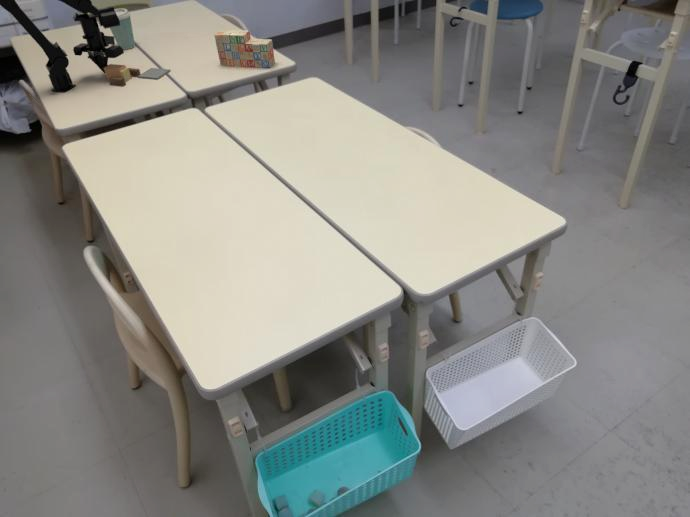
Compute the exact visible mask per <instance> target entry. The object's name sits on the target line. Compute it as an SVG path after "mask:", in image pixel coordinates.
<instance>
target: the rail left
mask: <svg viewBox="0 0 690 517" xmlns="http://www.w3.org/2000/svg"><path fill="white" fill-rule="evenodd" d="M108 79H109V84H110V86H119V87H125V86H126V85H127V83H126V82H127V81H126V82H125V79H124V78H117V77H110V78H108ZM108 79H107V80H108Z"/></svg>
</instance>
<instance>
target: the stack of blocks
mask: <svg viewBox="0 0 690 517" xmlns="http://www.w3.org/2000/svg"><path fill="white" fill-rule="evenodd" d="M214 39H215V45H216V50H217V54H218V58H219V64H220V66H221V67H233V68H235V67H238V68H255V69H256V68H257V69H271V67H272V66H274V64H275V63H276V62H275V59H276V58H275V54H274V44H273V39H269V38H251V34H250V31H249V30H239V29H238V30H237V29H236V30H233V29H231V30H230V29H229V30H227V29H220V30H219V31H217V32H216V33H215V34H214Z"/></svg>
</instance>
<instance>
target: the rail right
mask: <svg viewBox="0 0 690 517" xmlns="http://www.w3.org/2000/svg"><path fill="white" fill-rule="evenodd" d="M128 68H129V72H130V75H131V77H137V78H138V76H139V75H141V74H142V73H141V71H140V69H139V68H134V67H133V68H132V67H128Z"/></svg>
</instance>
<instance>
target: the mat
mask: <svg viewBox="0 0 690 517" xmlns="http://www.w3.org/2000/svg"><path fill="white" fill-rule="evenodd" d="M170 72H172V71H171V69H169V68H167V69H166V68H156V67H150V68H148V69H146V71H144V72H142V73H140V74H141V75H139V76H138V77H137V78H138V79H148V80H157V81H158V80H160V79H161V78H163V77H164V76H166V75H167V74H168V73H170Z"/></svg>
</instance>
